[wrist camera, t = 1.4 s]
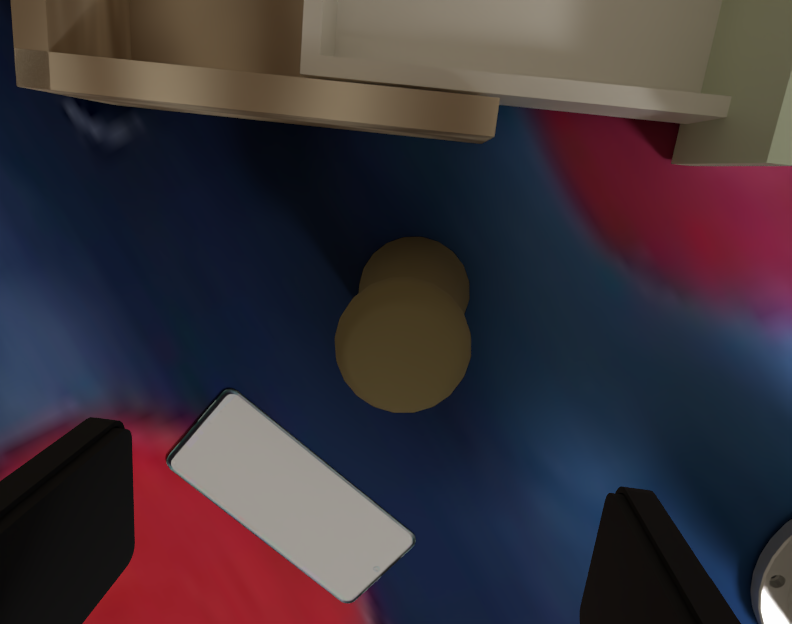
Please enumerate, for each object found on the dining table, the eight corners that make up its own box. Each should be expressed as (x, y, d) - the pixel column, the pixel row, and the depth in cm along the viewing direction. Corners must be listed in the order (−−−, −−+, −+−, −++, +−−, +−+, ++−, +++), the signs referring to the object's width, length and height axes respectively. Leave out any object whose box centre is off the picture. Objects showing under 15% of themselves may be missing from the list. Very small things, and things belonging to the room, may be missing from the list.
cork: (371, 352, 31) (335, 448, 20) (348, 247, 30) (297, 292, 19) (478, 335, 30) (498, 425, 20) (460, 226, 29) (471, 261, 18)
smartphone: (228, 385, 32) (420, 540, 34) (231, 381, 33) (420, 534, 34) (161, 463, 34) (347, 607, 35) (165, 458, 34) (349, 601, 36)
